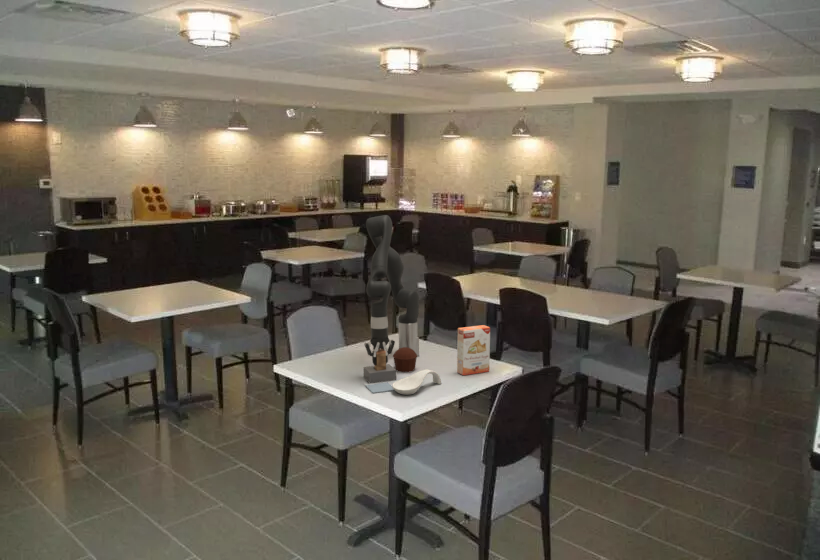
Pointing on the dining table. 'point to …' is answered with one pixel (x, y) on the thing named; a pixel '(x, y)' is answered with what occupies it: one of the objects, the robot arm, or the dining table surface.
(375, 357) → the robot arm
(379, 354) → the walnut plug
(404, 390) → the spoon rest
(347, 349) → the dining table surface
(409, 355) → the muffin
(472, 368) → the cracker box
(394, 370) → the block
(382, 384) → the rubber mat
